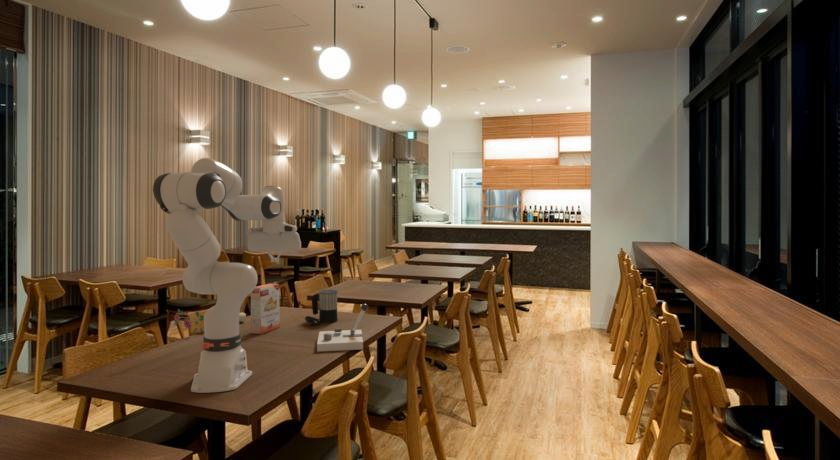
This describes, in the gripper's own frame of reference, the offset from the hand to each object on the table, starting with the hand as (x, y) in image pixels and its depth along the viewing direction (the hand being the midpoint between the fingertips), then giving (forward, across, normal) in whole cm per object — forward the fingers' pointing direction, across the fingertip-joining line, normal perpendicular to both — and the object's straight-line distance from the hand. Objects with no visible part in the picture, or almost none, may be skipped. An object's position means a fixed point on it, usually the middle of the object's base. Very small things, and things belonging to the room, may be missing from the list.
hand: (275, 262), depth 207 cm
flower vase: (+35, -34, +39) cm, 63 cm away
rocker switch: (+31, +24, +8) cm, 40 cm away
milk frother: (+35, +16, +44) cm, 58 cm away
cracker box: (+35, -9, +32) cm, 49 cm away
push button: (+32, +20, 0) cm, 38 cm away
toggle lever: (+31, +30, +4) cm, 43 cm away
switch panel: (+35, +25, +4) cm, 43 cm away
